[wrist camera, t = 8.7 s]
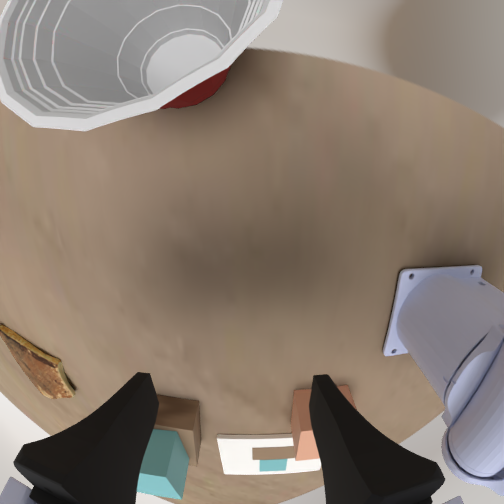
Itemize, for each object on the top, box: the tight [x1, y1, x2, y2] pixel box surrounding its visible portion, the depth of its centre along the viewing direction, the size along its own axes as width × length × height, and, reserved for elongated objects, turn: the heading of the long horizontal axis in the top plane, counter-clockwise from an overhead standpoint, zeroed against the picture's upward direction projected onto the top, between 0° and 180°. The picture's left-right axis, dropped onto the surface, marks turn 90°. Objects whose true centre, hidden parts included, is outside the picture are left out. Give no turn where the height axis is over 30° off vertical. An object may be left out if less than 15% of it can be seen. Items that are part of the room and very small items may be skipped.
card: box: [217, 433, 321, 475], centre depth 26 cm, size 12×9×1 cm
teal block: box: [137, 429, 189, 499], centre depth 19 cm, size 5×5×5 cm
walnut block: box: [153, 394, 201, 466], centre depth 23 cm, size 7×7×4 cm
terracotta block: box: [291, 385, 357, 461], centre depth 22 cm, size 5×5×5 cm
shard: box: [0, 325, 75, 399], centre depth 23 cm, size 11×8×2 cm
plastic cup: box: [0, 0, 283, 131], centre depth 10 cm, size 11×11×12 cm
